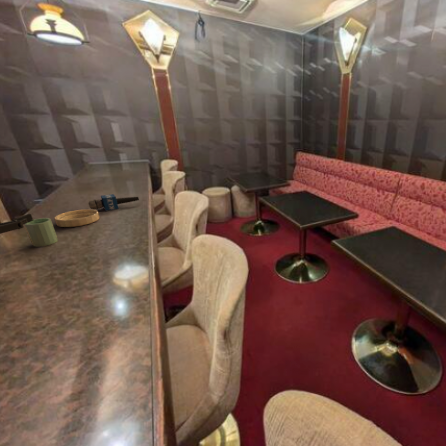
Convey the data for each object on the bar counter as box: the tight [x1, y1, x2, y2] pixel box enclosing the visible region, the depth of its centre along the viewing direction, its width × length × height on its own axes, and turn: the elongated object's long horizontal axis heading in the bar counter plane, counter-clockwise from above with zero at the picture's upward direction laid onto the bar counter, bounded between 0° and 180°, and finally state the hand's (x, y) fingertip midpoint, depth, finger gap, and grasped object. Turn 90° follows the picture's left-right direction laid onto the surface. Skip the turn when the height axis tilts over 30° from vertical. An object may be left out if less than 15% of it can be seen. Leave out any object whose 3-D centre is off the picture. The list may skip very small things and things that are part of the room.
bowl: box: [54, 208, 101, 228], centre depth 129 cm, size 17×17×4 cm
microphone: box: [88, 193, 140, 212], centre depth 151 cm, size 8×8×25 cm
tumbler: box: [23, 217, 59, 248], centre depth 105 cm, size 8×8×10 cm
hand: (10, 217), depth 92 cm, fingers open, 13 cm apart
